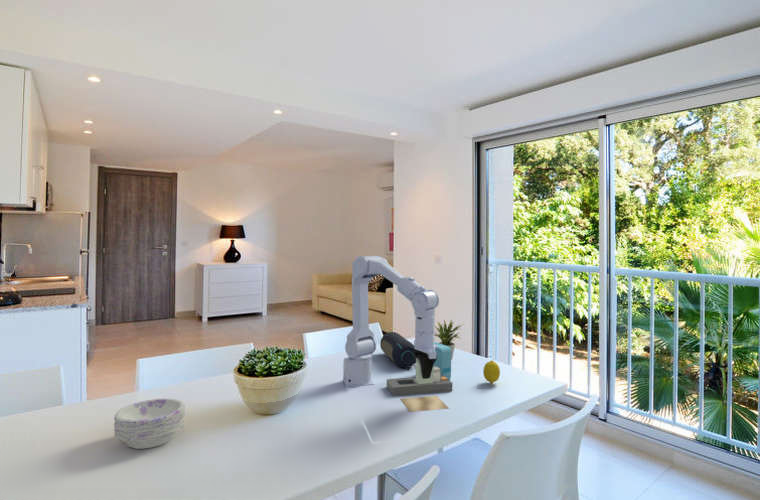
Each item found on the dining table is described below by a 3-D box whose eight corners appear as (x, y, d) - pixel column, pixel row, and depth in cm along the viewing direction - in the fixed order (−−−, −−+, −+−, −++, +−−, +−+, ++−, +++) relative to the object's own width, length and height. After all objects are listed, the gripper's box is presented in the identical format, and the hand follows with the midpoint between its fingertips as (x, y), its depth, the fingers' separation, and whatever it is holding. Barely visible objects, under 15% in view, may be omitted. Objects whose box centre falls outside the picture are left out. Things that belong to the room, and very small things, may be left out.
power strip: (392, 396, 136) (392, 385, 136) (386, 388, 143) (386, 377, 143) (452, 392, 140) (452, 381, 140) (443, 383, 148) (443, 373, 148)
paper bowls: (167, 421, 117) (167, 392, 116) (196, 438, 107) (196, 407, 107) (104, 441, 105) (104, 409, 105) (129, 463, 95) (129, 427, 95)
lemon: (498, 381, 151) (498, 358, 151) (501, 386, 146) (501, 363, 146) (482, 380, 152) (482, 357, 152) (484, 385, 146) (484, 362, 146)
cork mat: (409, 413, 123) (409, 411, 123) (400, 400, 133) (400, 398, 133) (449, 409, 126) (449, 408, 126) (436, 397, 136) (436, 395, 136)
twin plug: (427, 391, 141) (427, 370, 141) (424, 388, 144) (424, 367, 144) (440, 390, 142) (440, 369, 142) (436, 387, 145) (437, 366, 145)
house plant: (464, 365, 169) (464, 324, 168) (428, 363, 172) (429, 322, 171) (464, 356, 183) (465, 317, 182) (431, 353, 186) (432, 316, 185)
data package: (451, 381, 151) (451, 347, 151) (441, 383, 149) (442, 348, 148) (427, 372, 161) (428, 340, 161) (418, 374, 158) (419, 341, 158)
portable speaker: (377, 353, 186) (378, 330, 186) (399, 352, 189) (400, 329, 188) (395, 371, 162) (395, 344, 161) (420, 369, 164) (420, 343, 164)
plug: (418, 384, 127) (419, 360, 127) (415, 380, 130) (416, 357, 130) (433, 382, 128) (433, 359, 128) (429, 379, 131) (430, 356, 131)
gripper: (446, 336, 123) (445, 383, 123) (429, 325, 137) (428, 368, 137) (423, 337, 121) (422, 385, 122) (407, 326, 135) (407, 369, 136)
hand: (424, 376), depth 129 cm, fingers closed on plug, 3 cm apart
